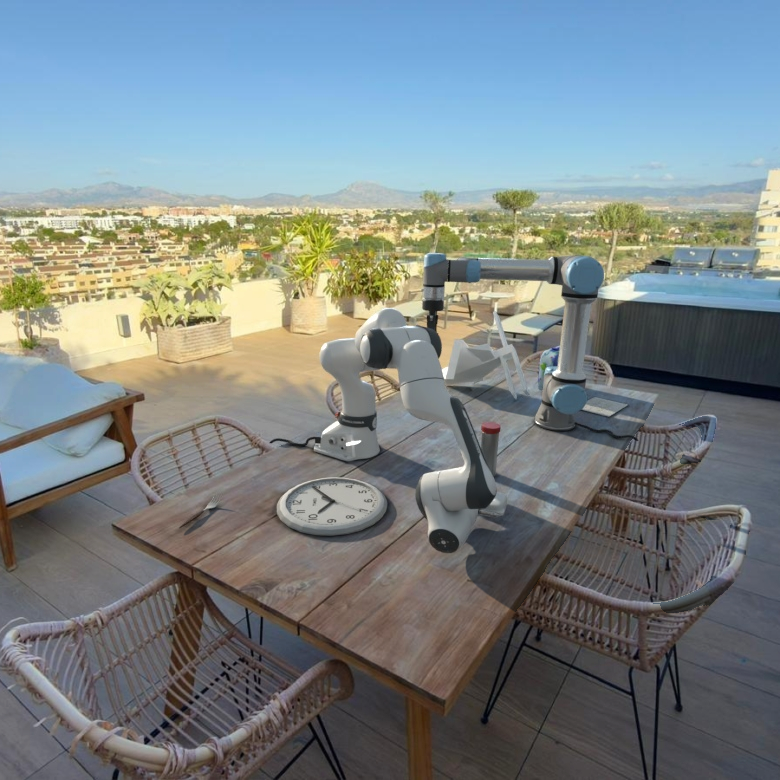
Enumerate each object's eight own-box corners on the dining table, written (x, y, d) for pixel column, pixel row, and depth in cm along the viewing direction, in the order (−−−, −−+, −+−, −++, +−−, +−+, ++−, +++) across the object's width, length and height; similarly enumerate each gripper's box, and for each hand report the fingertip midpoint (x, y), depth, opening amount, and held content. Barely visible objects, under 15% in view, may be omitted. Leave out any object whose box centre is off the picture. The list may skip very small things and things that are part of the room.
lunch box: (554, 397, 237) (559, 352, 231) (533, 392, 244) (538, 348, 238) (581, 386, 255) (586, 344, 248) (560, 381, 262) (565, 340, 256)
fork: (174, 529, 130) (174, 521, 130) (216, 499, 144) (215, 492, 144) (183, 531, 129) (182, 524, 129) (223, 501, 144) (223, 494, 143)
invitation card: (608, 416, 214) (573, 407, 224) (608, 416, 214) (573, 408, 224) (628, 404, 229) (594, 396, 238) (628, 405, 229) (594, 397, 238)
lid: (486, 434, 155) (486, 429, 155) (478, 428, 160) (478, 422, 160) (503, 433, 156) (503, 427, 156) (495, 426, 162) (495, 421, 161)
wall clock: (392, 527, 129) (268, 531, 127) (391, 533, 130) (269, 537, 127) (383, 473, 158) (282, 475, 155) (383, 478, 158) (282, 480, 156)
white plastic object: (461, 429, 252) (437, 405, 227) (444, 352, 274) (420, 323, 250) (535, 404, 240) (518, 377, 215) (510, 326, 262) (492, 293, 237)
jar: (483, 478, 160) (486, 430, 155) (476, 471, 164) (479, 424, 160) (498, 476, 161) (502, 428, 156) (491, 469, 166) (495, 423, 161)
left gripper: (503, 505, 126) (512, 481, 138) (423, 489, 133) (438, 467, 145) (501, 528, 128) (510, 502, 140) (422, 511, 135) (437, 488, 147)
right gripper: (425, 294, 195) (423, 349, 201) (419, 303, 172) (417, 365, 178) (445, 294, 194) (442, 350, 201) (442, 304, 171) (439, 366, 177)
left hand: (473, 484), depth 143 cm, fingers open, 8 cm apart
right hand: (430, 357), depth 189 cm, fingers open, 13 cm apart
